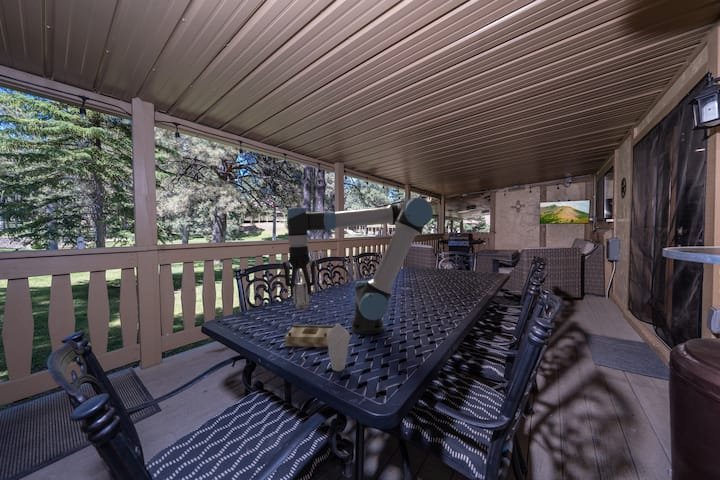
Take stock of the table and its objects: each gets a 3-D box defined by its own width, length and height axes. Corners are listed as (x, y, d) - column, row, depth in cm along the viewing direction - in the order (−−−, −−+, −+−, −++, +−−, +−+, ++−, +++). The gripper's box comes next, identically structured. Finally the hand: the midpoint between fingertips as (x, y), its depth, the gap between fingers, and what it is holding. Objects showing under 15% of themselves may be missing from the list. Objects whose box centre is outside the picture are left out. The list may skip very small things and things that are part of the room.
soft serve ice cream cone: (326, 362, 97) (326, 319, 96) (349, 361, 98) (349, 318, 97) (325, 375, 89) (325, 327, 88) (351, 374, 90) (350, 326, 89)
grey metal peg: (308, 305, 113) (307, 282, 113) (306, 309, 109) (304, 284, 108) (298, 306, 113) (296, 282, 113) (295, 309, 109) (293, 284, 108)
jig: (333, 334, 122) (333, 324, 121) (328, 347, 110) (328, 334, 109) (294, 334, 123) (294, 323, 123) (285, 346, 111) (284, 334, 111)
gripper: (321, 244, 113) (324, 299, 114) (280, 245, 114) (283, 300, 115) (318, 245, 106) (321, 304, 107) (274, 247, 106) (277, 305, 108)
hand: (301, 302), depth 111 cm, fingers closed on grey metal peg, 4 cm apart
